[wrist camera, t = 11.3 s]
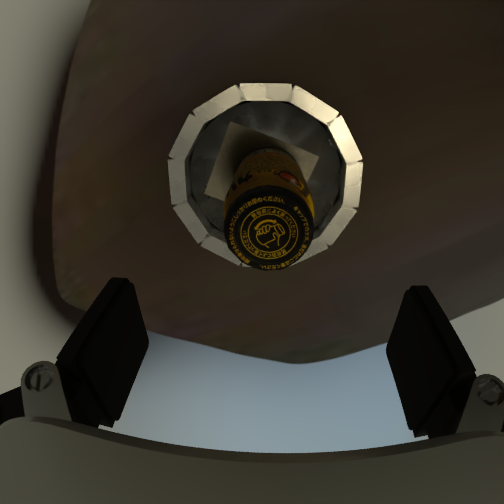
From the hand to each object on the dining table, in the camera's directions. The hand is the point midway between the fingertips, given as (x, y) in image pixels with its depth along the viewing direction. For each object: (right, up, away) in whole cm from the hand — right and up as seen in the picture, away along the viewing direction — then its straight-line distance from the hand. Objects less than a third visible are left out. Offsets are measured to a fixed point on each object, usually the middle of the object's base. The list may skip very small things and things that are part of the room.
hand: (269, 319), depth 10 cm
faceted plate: (+1, +9, +18) cm, 21 cm away
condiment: (0, +9, +18) cm, 20 cm away
